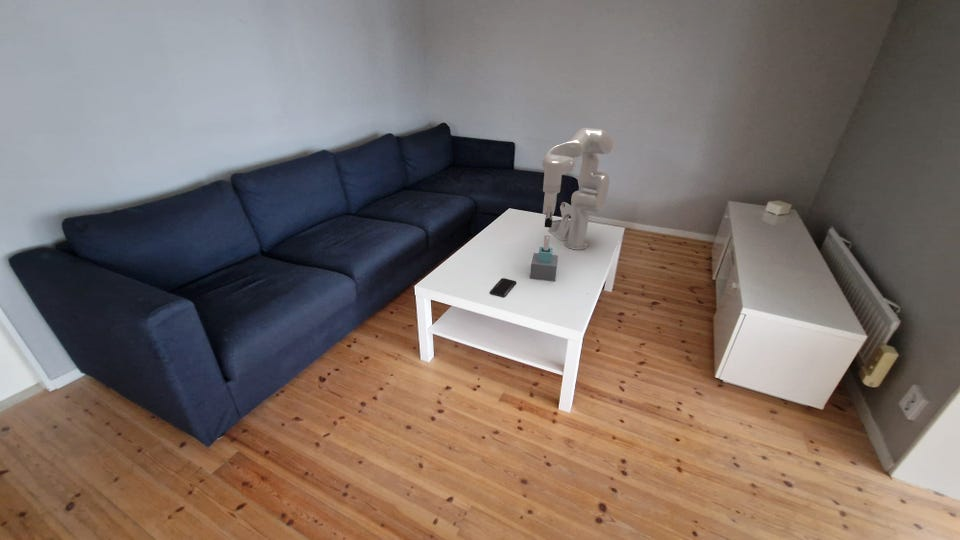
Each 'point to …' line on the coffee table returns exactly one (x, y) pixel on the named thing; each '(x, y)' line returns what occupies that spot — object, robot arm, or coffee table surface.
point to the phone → (503, 287)
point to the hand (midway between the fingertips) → (548, 226)
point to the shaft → (546, 243)
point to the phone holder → (562, 223)
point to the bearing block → (543, 268)
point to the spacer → (545, 255)
